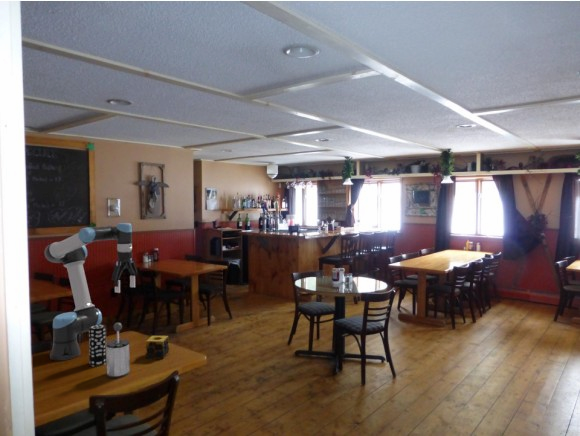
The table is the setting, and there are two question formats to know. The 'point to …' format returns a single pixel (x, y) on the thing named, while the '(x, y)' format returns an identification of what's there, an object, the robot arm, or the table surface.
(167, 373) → the table surface
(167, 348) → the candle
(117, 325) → the grey ball-topped rod
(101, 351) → the spotted tube
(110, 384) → the table surface
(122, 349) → the grey cylinder
